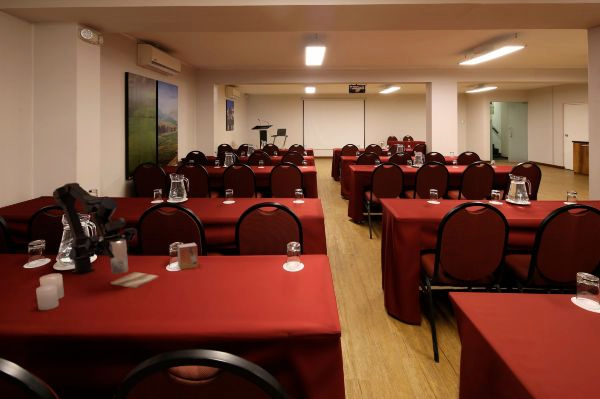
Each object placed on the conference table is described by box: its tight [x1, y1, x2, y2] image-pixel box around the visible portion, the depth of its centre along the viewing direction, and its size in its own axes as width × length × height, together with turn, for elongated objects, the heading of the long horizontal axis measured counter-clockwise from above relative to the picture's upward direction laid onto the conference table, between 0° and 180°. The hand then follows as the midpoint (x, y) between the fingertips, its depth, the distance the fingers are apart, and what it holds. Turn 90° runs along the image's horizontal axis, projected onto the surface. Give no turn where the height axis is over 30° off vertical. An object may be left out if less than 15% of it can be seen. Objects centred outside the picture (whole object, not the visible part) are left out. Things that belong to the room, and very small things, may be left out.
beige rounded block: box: [39, 273, 65, 300], centre depth 142 cm, size 7×7×8 cm
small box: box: [176, 242, 199, 270], centre depth 174 cm, size 8×6×10 cm
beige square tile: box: [110, 271, 159, 289], centre depth 159 cm, size 13×13×1 cm
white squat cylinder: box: [35, 284, 60, 311], centre depth 134 cm, size 6×6×7 cm
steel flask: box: [108, 239, 129, 275], centre depth 150 cm, size 6×6×12 cm
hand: (120, 255), depth 149 cm, fingers closed on steel flask, 6 cm apart
